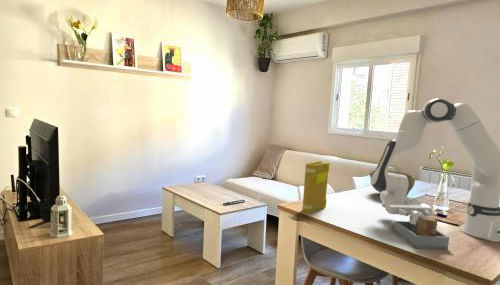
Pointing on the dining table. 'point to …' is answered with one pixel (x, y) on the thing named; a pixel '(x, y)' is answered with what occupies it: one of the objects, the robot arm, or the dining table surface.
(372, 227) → the dining table surface
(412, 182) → the bowl
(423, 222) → the walnut block
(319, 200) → the book
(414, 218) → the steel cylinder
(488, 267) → the dining table surface
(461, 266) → the dining table surface
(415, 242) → the tote
